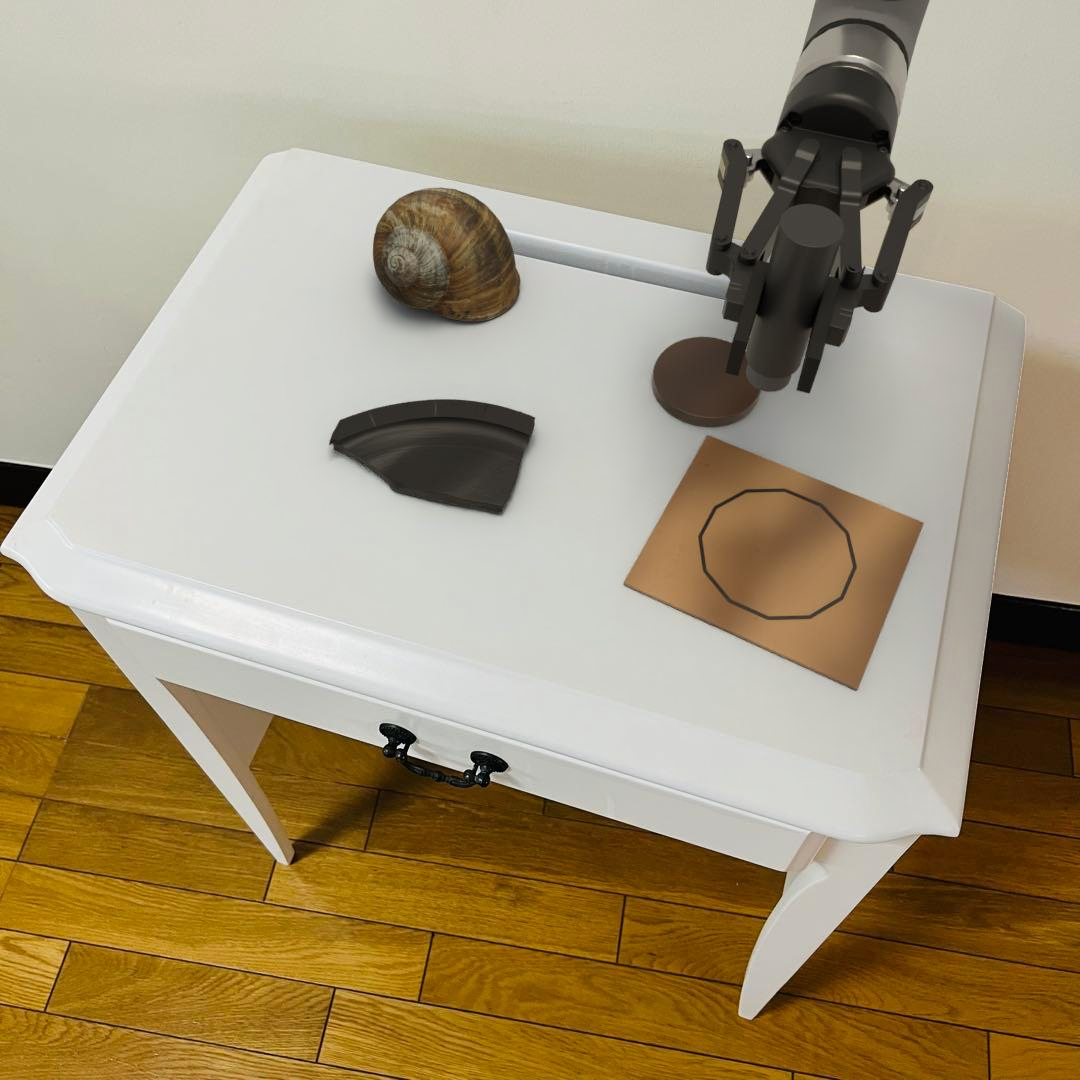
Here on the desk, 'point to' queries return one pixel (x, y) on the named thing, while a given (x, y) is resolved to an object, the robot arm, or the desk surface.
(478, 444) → the curved wedge
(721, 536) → the paper sheet
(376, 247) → the seashell
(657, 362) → the coaster
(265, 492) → the desk surface
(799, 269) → the dot marker
